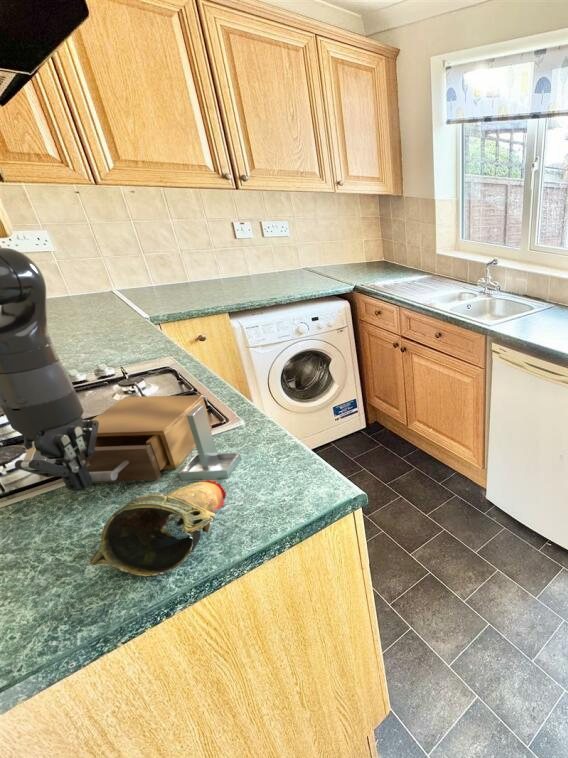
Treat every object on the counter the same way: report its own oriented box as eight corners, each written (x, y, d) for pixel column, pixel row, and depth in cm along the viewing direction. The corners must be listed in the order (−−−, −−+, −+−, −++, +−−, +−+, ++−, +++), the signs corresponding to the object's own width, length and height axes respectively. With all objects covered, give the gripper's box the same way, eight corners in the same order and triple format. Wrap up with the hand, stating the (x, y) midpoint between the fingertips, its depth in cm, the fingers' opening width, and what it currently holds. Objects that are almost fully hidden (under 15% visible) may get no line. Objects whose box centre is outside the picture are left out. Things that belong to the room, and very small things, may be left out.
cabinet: (176, 468, 81) (163, 430, 77) (88, 472, 78) (70, 433, 74) (212, 429, 94) (202, 395, 90) (138, 431, 91) (125, 396, 87)
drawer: (141, 497, 72) (128, 465, 69) (49, 502, 70) (32, 469, 67) (195, 439, 88) (186, 411, 85) (123, 442, 86) (111, 413, 83)
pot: (248, 449, 73) (181, 487, 55) (274, 507, 74) (218, 561, 57) (147, 484, 71) (45, 535, 53) (176, 542, 73) (87, 610, 55)
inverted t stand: (181, 480, 78) (160, 418, 72) (197, 461, 83) (179, 402, 78) (228, 478, 79) (211, 417, 74) (241, 459, 84) (226, 401, 79)
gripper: (45, 374, 66) (85, 464, 73) (-41, 415, 54) (18, 518, 61) (99, 374, 67) (134, 462, 75) (27, 414, 55) (77, 515, 63)
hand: (81, 487), depth 68 cm, fingers closed
